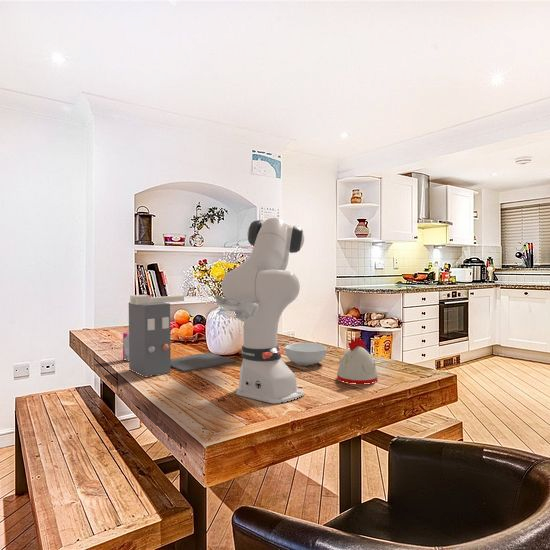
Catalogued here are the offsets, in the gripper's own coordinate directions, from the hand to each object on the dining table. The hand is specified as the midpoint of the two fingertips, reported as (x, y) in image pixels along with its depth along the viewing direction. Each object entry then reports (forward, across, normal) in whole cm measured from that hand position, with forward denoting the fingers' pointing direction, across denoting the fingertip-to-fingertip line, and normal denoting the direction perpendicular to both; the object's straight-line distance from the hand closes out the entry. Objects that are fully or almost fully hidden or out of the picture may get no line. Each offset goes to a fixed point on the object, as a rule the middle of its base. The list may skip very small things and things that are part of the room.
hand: (222, 297), depth 177 cm
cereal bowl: (-32, +29, +12) cm, 45 cm away
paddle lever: (+24, -2, +14) cm, 28 cm away
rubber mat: (-4, -2, +28) cm, 29 cm away
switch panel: (+14, -2, +39) cm, 41 cm away
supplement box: (+12, -25, +38) cm, 47 cm away
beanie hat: (-30, +57, +14) cm, 65 cm away
